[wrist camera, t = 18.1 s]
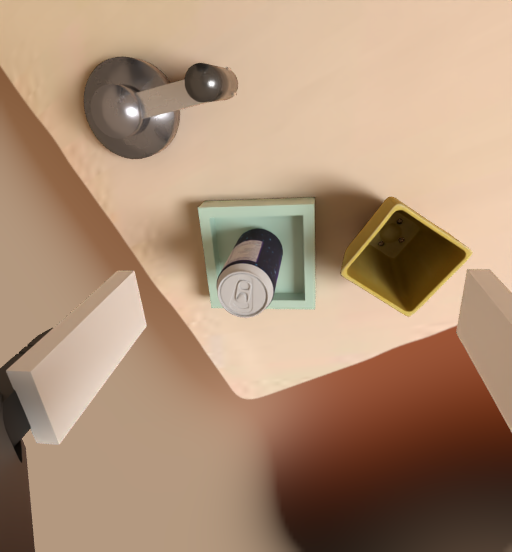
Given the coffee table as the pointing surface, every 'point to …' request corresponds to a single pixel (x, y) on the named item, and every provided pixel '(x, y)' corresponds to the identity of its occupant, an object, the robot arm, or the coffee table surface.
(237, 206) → the tray
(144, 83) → the crank base
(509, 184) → the coffee table surface
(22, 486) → the robot arm
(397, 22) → the coffee table surface
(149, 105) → the crank
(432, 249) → the flower pot
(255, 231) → the beverage can
